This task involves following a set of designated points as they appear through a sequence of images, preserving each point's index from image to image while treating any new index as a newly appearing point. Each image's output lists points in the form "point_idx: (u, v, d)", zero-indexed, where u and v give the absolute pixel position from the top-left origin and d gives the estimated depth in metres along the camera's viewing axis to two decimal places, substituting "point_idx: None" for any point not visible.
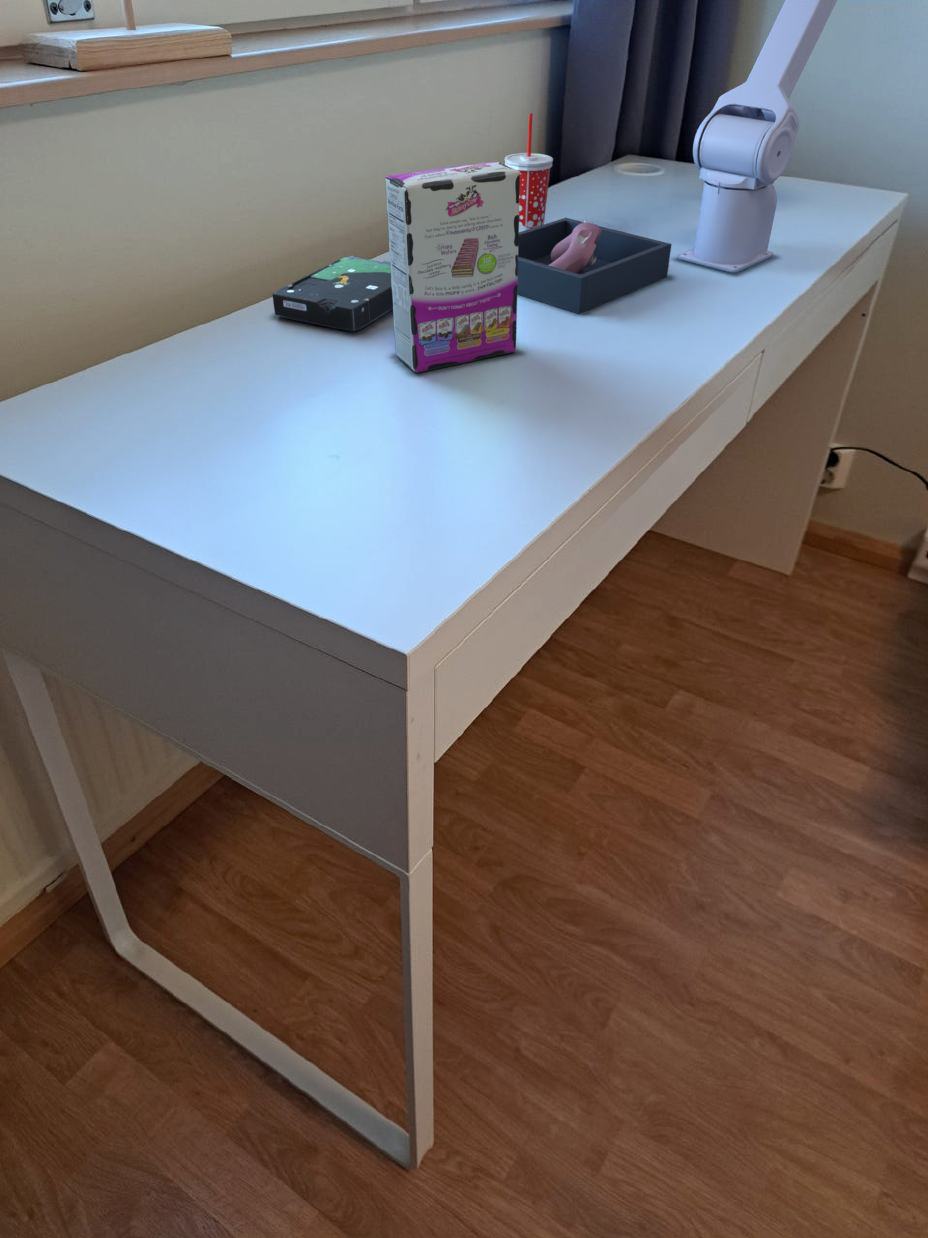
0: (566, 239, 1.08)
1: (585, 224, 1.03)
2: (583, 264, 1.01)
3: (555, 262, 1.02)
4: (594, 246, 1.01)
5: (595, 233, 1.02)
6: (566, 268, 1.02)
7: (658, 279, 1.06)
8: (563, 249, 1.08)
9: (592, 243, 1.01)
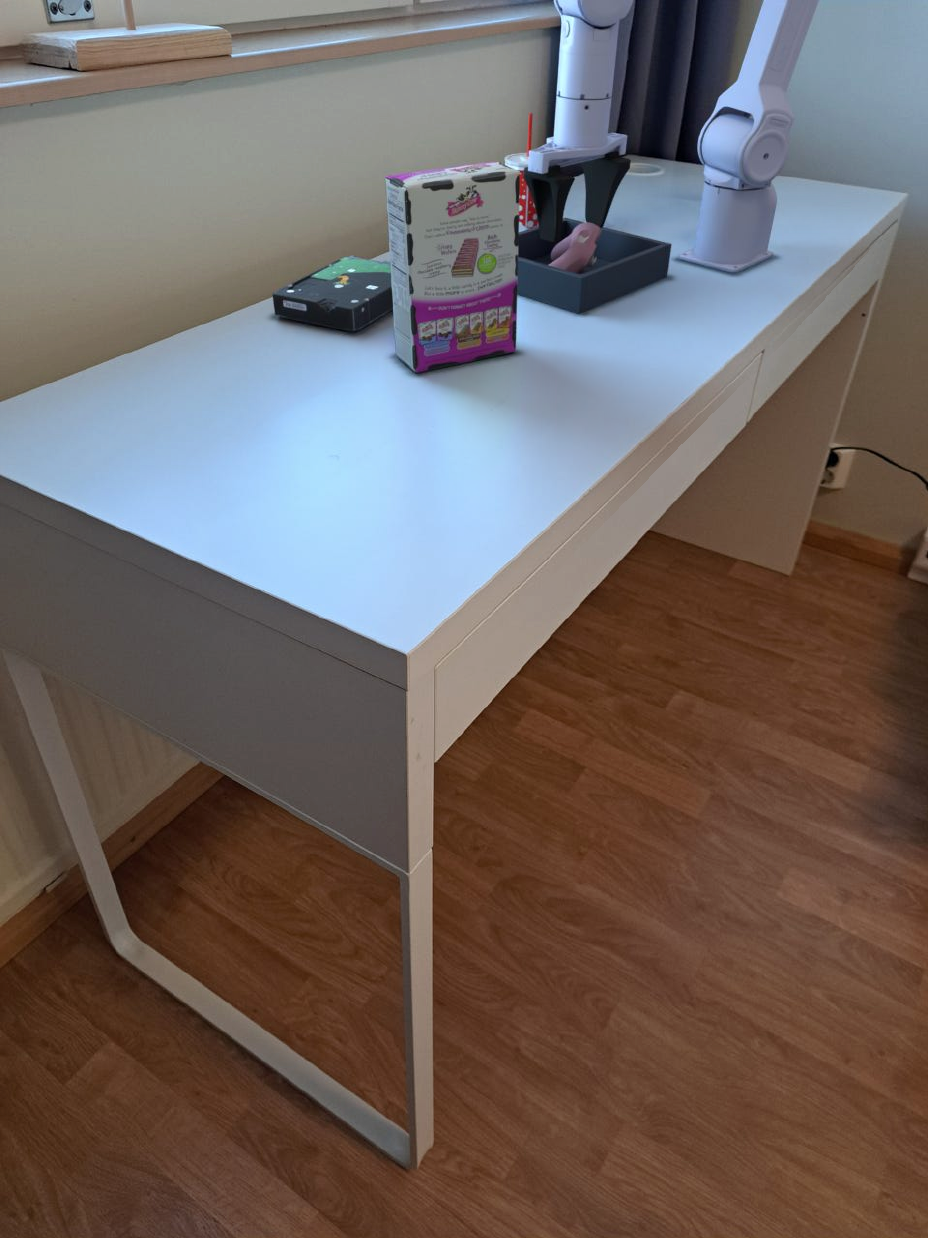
0: (566, 239, 1.08)
1: (585, 224, 1.03)
2: (583, 263, 1.01)
3: (555, 262, 1.02)
4: (594, 246, 1.01)
5: (595, 233, 1.02)
6: (567, 268, 1.02)
7: (658, 279, 1.06)
8: (563, 249, 1.08)
9: (592, 243, 1.01)
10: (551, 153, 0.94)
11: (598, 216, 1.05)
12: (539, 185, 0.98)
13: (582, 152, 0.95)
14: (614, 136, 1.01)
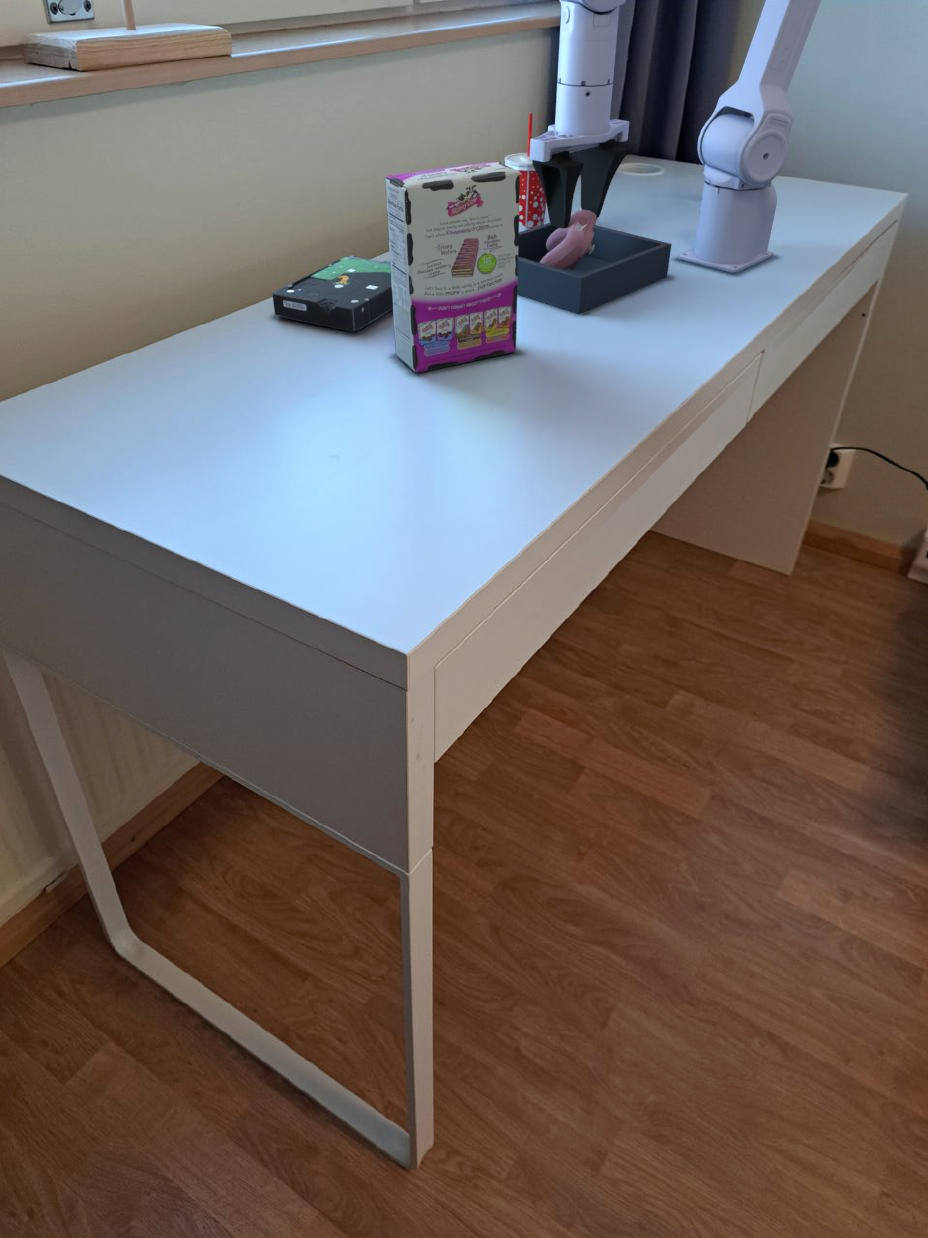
0: None
1: (582, 211, 1.01)
2: (581, 252, 0.99)
3: (553, 251, 1.00)
4: (592, 233, 0.99)
5: (592, 221, 1.00)
6: (565, 256, 1.00)
7: (658, 279, 1.06)
8: (559, 238, 1.07)
9: (590, 230, 0.99)
10: (553, 141, 0.93)
11: (594, 206, 1.03)
12: (548, 171, 0.98)
13: (584, 139, 0.95)
14: (616, 122, 1.01)
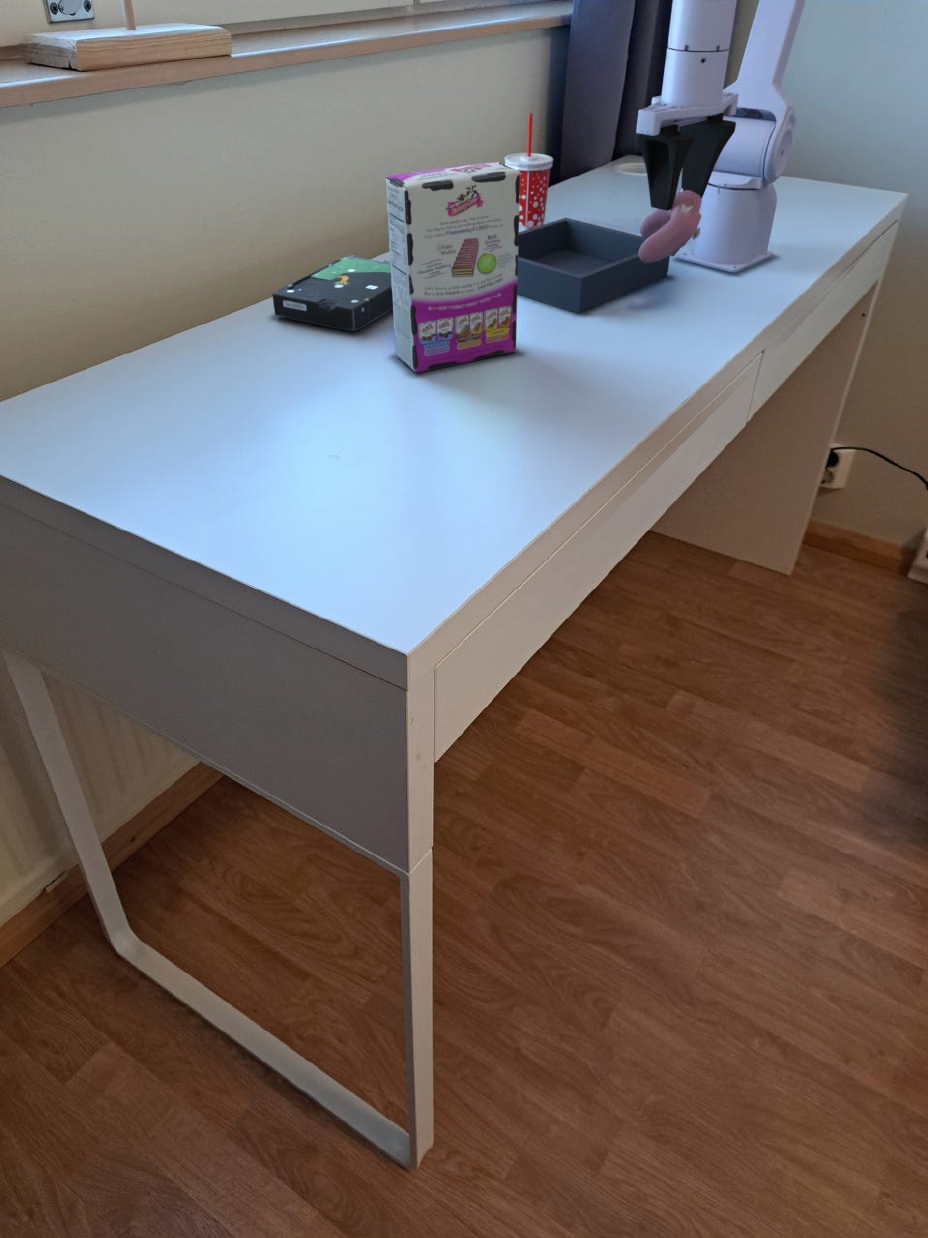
0: (659, 210, 0.98)
1: (686, 192, 0.93)
2: (687, 235, 0.91)
3: (655, 235, 0.91)
4: (699, 216, 0.91)
5: (698, 202, 0.91)
6: (668, 241, 0.91)
7: (658, 279, 1.06)
8: (655, 222, 0.98)
9: (697, 212, 0.91)
10: (664, 112, 0.85)
11: (697, 187, 0.95)
12: (653, 147, 0.89)
13: (696, 111, 0.86)
14: (724, 95, 0.92)
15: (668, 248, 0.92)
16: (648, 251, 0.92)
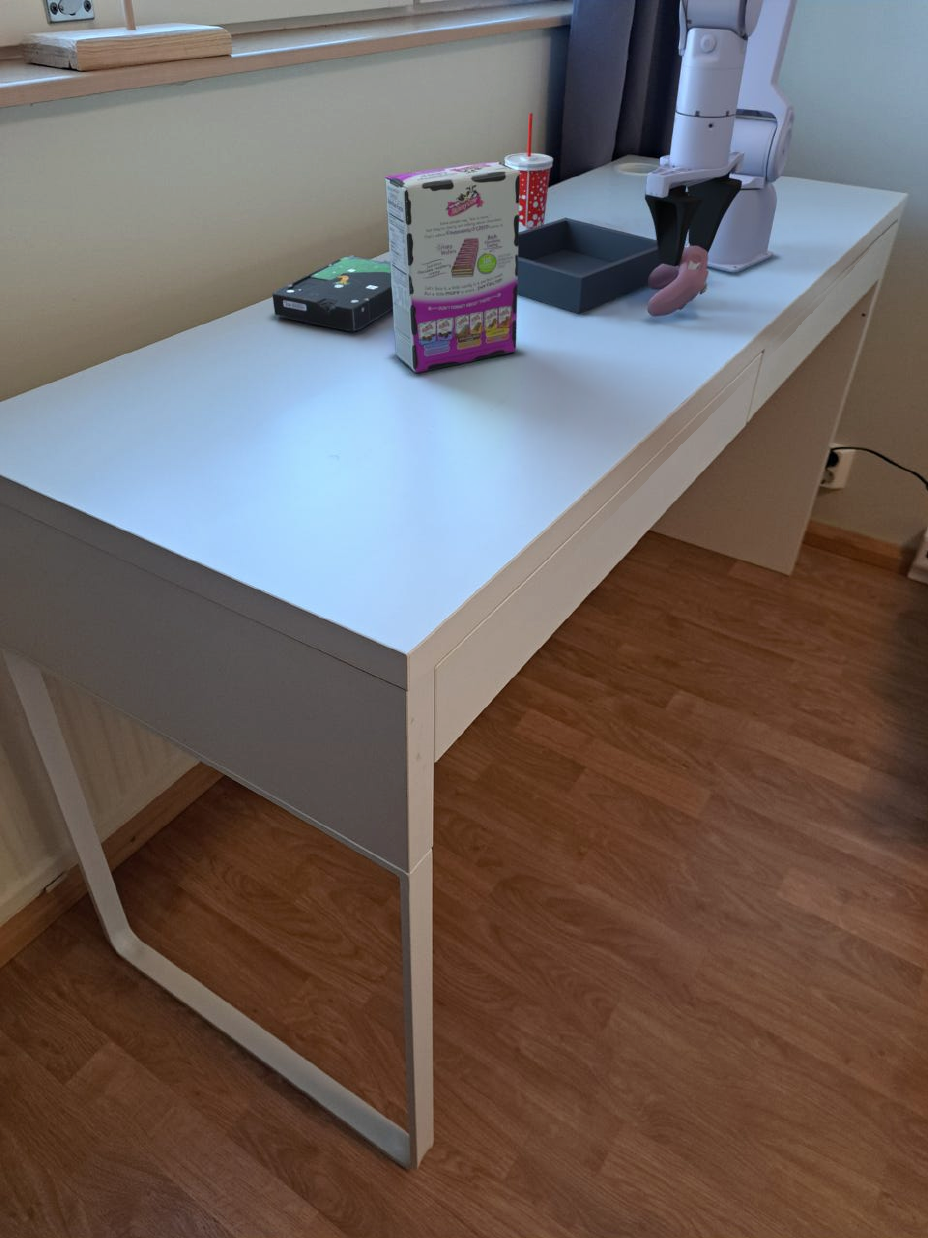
0: None
1: (693, 248, 0.95)
2: (695, 291, 0.93)
3: (664, 290, 0.94)
4: (707, 272, 0.93)
5: (706, 258, 0.94)
6: (676, 296, 0.94)
7: None
8: (663, 274, 1.00)
9: (704, 269, 0.93)
10: (672, 175, 0.87)
11: (703, 242, 0.97)
12: (661, 206, 0.92)
13: (704, 173, 0.88)
14: (731, 153, 0.94)
15: (676, 303, 0.94)
16: (656, 306, 0.94)
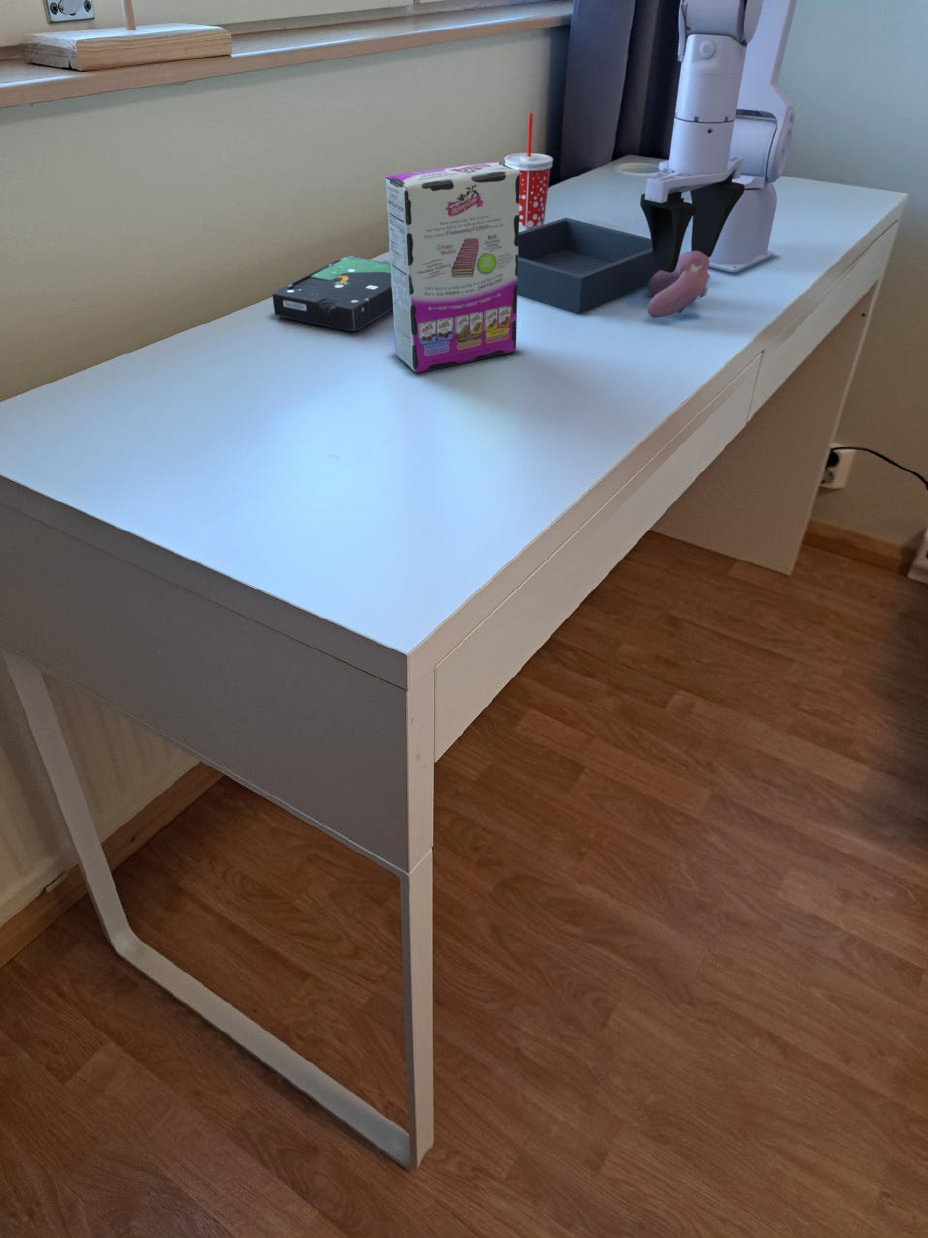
0: None
1: (694, 252, 0.95)
2: (696, 294, 0.93)
3: (664, 291, 0.94)
4: (708, 275, 0.93)
5: (707, 262, 0.94)
6: (677, 298, 0.94)
7: None
8: (663, 279, 1.01)
9: (705, 272, 0.93)
10: (671, 181, 0.87)
11: (706, 245, 0.98)
12: (657, 213, 0.92)
13: (703, 178, 0.89)
14: (729, 159, 0.95)
15: (676, 305, 0.94)
16: (656, 307, 0.95)
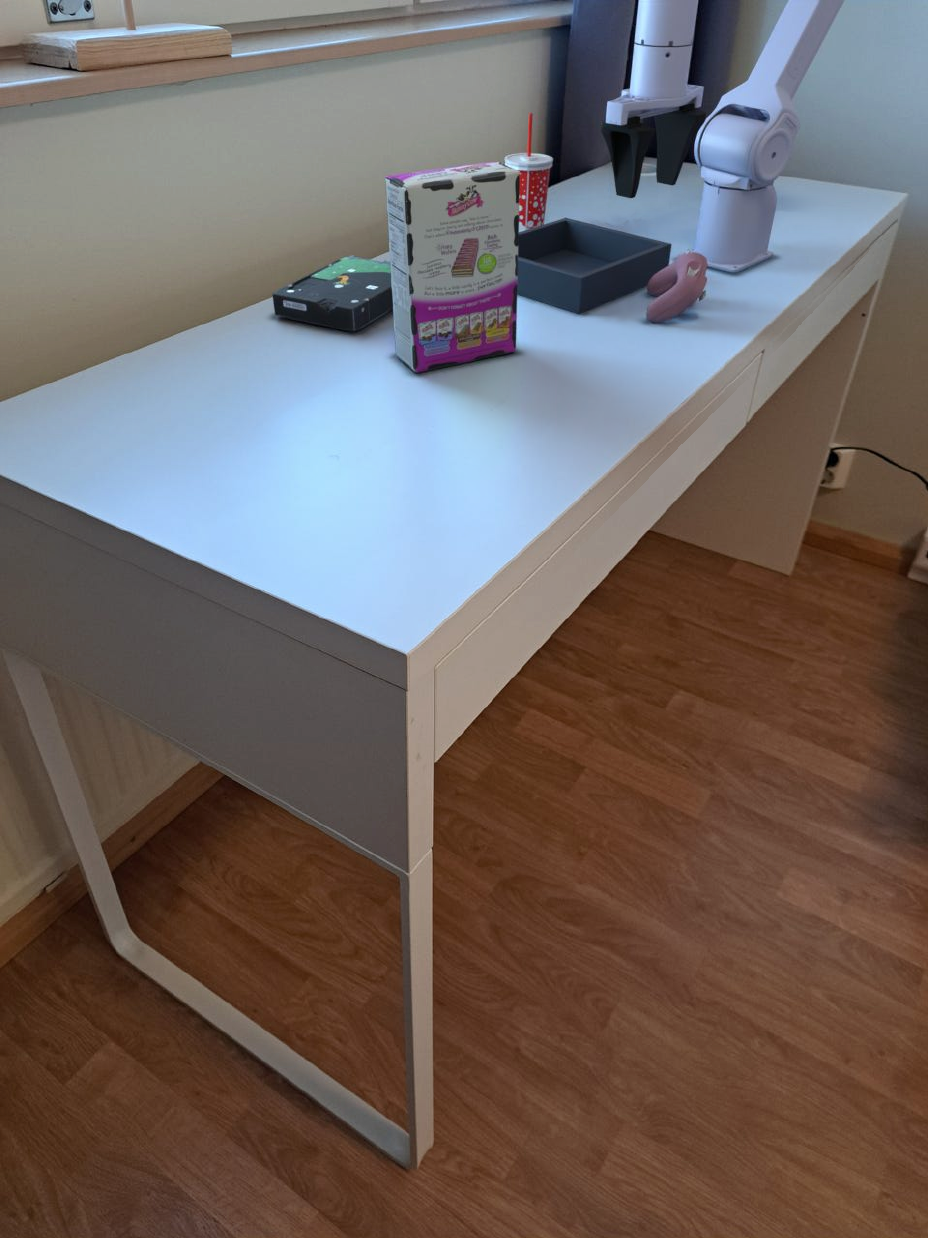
0: (665, 269, 1.00)
1: (692, 255, 0.95)
2: (694, 298, 0.93)
3: (663, 296, 0.94)
4: (705, 279, 0.93)
5: (705, 265, 0.94)
6: (675, 303, 0.94)
7: None
8: (662, 280, 1.01)
9: (703, 276, 0.93)
10: (631, 103, 0.90)
11: (670, 173, 1.01)
12: (617, 138, 0.95)
13: (662, 102, 0.92)
14: (690, 88, 0.98)
15: (675, 309, 0.94)
16: (655, 312, 0.95)
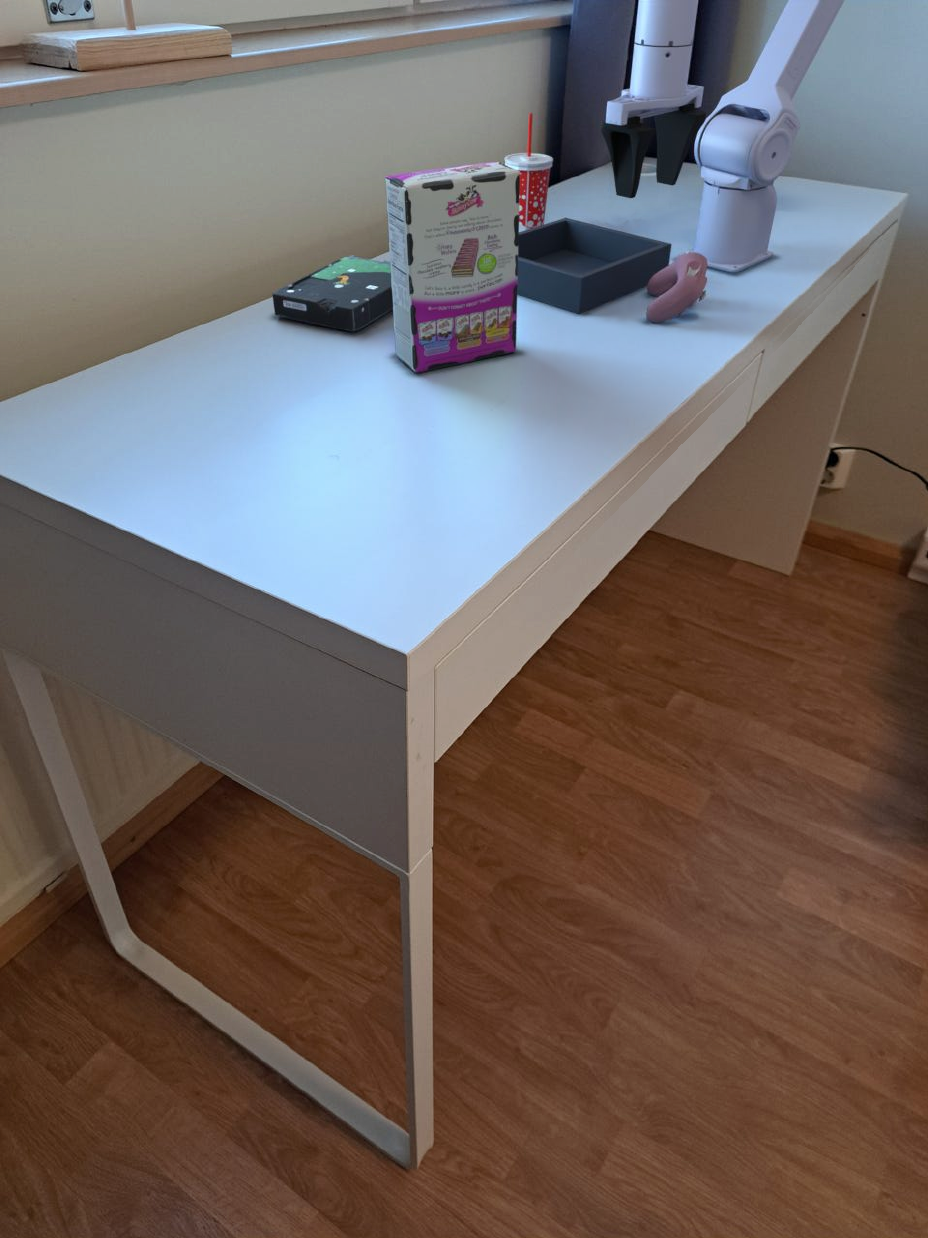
0: (665, 269, 1.00)
1: (692, 255, 0.95)
2: (694, 298, 0.93)
3: (663, 296, 0.94)
4: (705, 279, 0.93)
5: (705, 265, 0.94)
6: (675, 303, 0.94)
7: None
8: (662, 280, 1.01)
9: (703, 276, 0.93)
10: (631, 103, 0.90)
11: (670, 173, 1.01)
12: (617, 138, 0.95)
13: (662, 102, 0.92)
14: (690, 88, 0.98)
15: (675, 309, 0.94)
16: (655, 312, 0.95)
